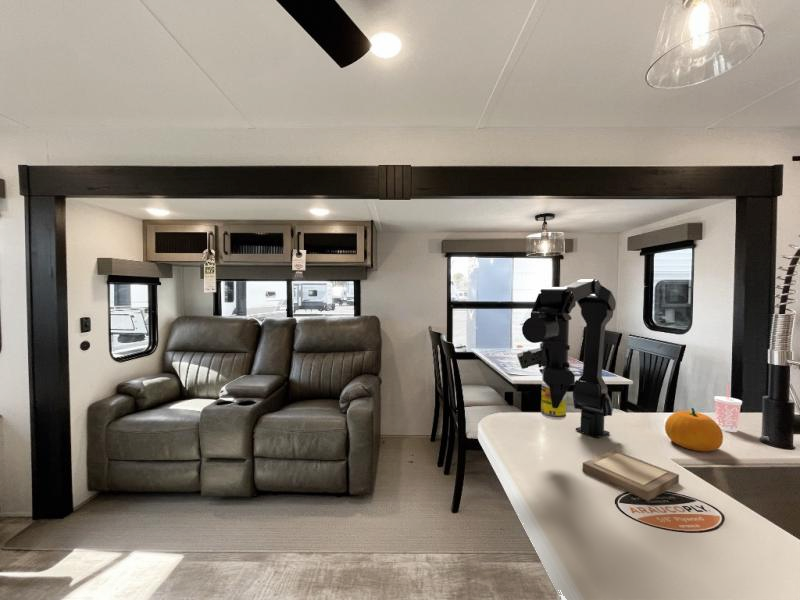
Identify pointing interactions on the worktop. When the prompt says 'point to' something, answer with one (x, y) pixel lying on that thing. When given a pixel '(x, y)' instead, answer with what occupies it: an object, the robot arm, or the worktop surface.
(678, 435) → the fruit
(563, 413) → the supplement bottle
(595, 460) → the brown picture frame
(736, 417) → the beverage cup
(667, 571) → the worktop surface
